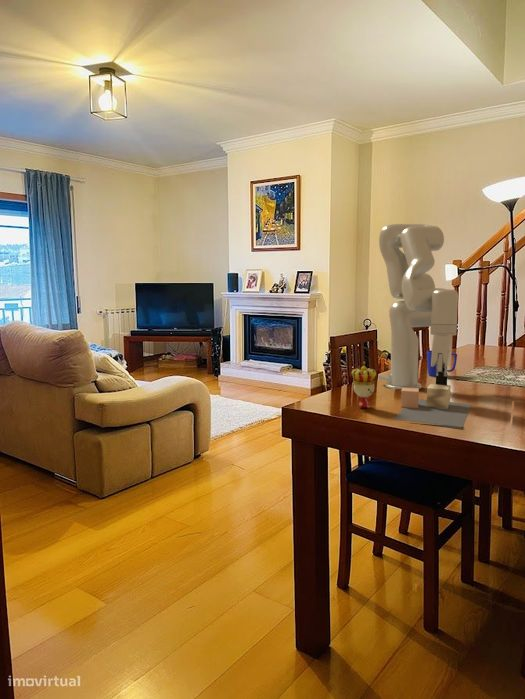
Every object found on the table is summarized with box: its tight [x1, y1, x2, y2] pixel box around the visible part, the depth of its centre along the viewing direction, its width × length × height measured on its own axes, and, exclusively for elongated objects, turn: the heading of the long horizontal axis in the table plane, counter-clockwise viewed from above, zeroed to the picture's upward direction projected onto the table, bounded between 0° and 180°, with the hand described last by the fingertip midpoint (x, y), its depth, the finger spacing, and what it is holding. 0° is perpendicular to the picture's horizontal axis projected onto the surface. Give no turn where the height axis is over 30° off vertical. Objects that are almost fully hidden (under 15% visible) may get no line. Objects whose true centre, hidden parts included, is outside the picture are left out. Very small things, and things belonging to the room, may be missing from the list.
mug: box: [426, 349, 458, 378], centre depth 209 cm, size 8×12×10 cm
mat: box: [392, 398, 473, 430], centre depth 150 cm, size 18×28×1 cm, turn 153°
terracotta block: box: [400, 388, 420, 408], centre depth 157 cm, size 5×5×5 cm
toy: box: [351, 360, 377, 410], centre depth 154 cm, size 7×7×15 cm
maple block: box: [426, 383, 452, 409], centre depth 156 cm, size 6×6×6 cm
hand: (441, 388), depth 159 cm, fingers closed
